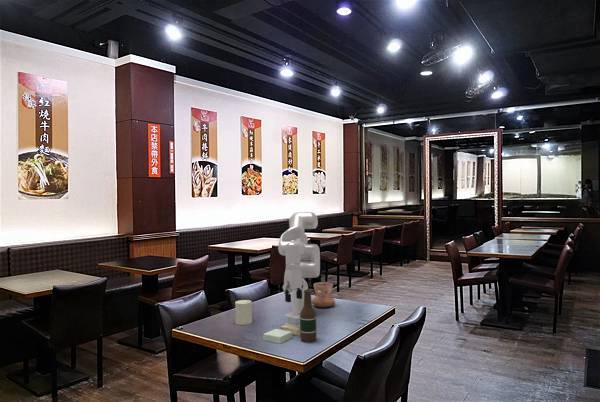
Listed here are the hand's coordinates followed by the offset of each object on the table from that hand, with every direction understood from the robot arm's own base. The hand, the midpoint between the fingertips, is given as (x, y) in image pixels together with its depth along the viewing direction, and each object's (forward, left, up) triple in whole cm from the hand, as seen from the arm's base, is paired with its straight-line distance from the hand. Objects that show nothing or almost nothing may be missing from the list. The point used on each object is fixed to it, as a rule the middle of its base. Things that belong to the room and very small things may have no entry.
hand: (293, 300), depth 221 cm
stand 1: (+14, 0, -16) cm, 21 cm away
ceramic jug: (-53, -15, -17) cm, 58 cm away
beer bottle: (+7, +13, -16) cm, 22 cm away
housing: (0, 0, -13) cm, 13 cm away
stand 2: (0, 0, -16) cm, 16 cm away
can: (+1, -34, -16) cm, 38 cm away
